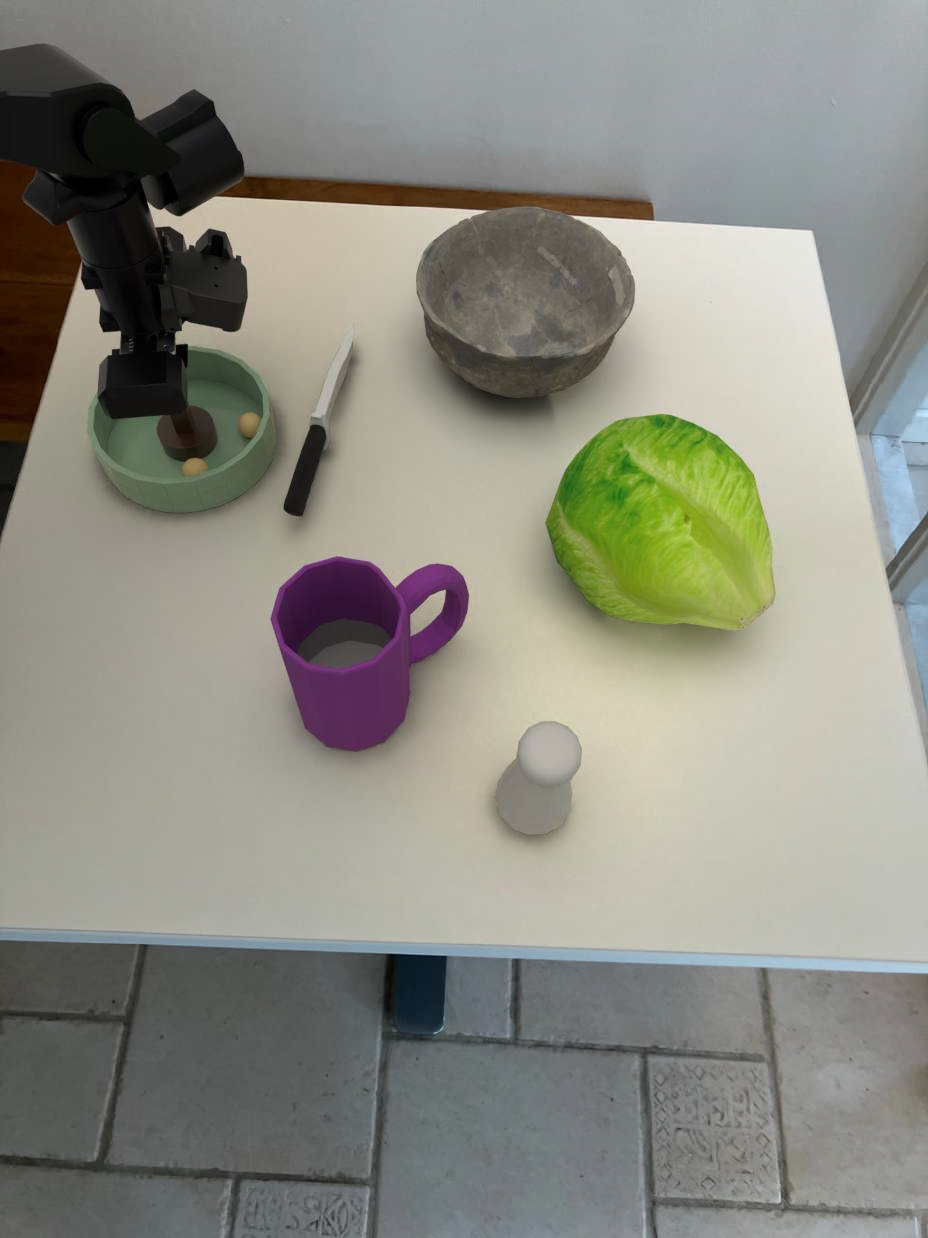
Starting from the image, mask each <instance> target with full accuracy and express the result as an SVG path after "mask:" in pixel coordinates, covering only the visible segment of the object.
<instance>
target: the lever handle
mask: <svg viewBox="0 0 928 1238" xmlns="http://www.w3.org/2000/svg"><path fill="white" fill-rule="evenodd" d="M157 435H158V437H159V440H160V442H161V445H162V447H163V450H164V451H165V453H166V454H167V455H168V456H169V457H171V458H172V459H175V460H177V461H182V462H186V461H187V460H189V459H191V458H199V459H202V458H204V457H206V456H208V455H209V454H210V453H211V452H212V451H213V450H214V448H215V447H216V445H217V441H218V435H217V431H216V428H215V425H214V422H213V419H212V417H211V415H210V414H209V413H208V412H207V411H206V410H204V409H203V408H200V407H197V406H191V405H189V404H188V403H187V409H186V410H184V411H183V412H182V413H181V414H174V415H163V416H162V417H161V418H160V420H159V422H158V424H157Z"/></svg>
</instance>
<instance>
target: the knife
mask: <svg viewBox="0 0 928 1238" xmlns="http://www.w3.org/2000/svg"><path fill="white" fill-rule="evenodd" d="M341 341H342V342H341V344H340V345H339V346H340V347H339V349H338V351H337V353H336V355H335V358H334V359H333V361H332V363H331V364H330V366H329V369H328V372H327V375H326V377H325V381H324V384H323V387H322V389H321V393H320V396H319V399H318V402H317V405H316V408H315V411H314V412H311V415H310V418H309V428H308V431H307V434H306V436H305V439H304V442H303V445H302V448H301V450H300V453H299V456H298V459H297V462H296V464H295V467H294V470H293V474H292V477H291V480H290V483H289V487H288V491H287V493H286V495H285V498H284V501H283V505H282V509H283V511H284V512H285V513H287V514H288V515H290V516H293V517H302V516H304V513H305V511H306V507H307V504H308V499H309V496H310V492H311V490H312V487H313V483H314V480H315V477H316V474H317V471H318V467H319V464H320V461H321V457H322V455H323V452H325V451H327V448H328V445H329V443H330V436H331V429H330V425H329V422H330V417H331V415H332V412H333V409H334V406H335V403H336V401H337V398H338V396H339V393H340V390H341V389H342V385H343V383H344V380H345V377H346V376H347V372H348V370H349V369H348V368H349V365H350V361H351V356H352V351H353V348H354V341H355V322H353V323H352V324H351V326H350V327H349V329H348V330H347V332H346V333H345V334H344V336H343V338H342V340H341Z"/></svg>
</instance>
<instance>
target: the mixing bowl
mask: <svg viewBox="0 0 928 1238" xmlns="http://www.w3.org/2000/svg"><path fill="white" fill-rule="evenodd" d="M186 376H187V382H188V404H189V405H191V406H197V407H200V408H203V409H204V410H206V411H207V412H208V413H209V414H210V415H211V417H212V419H213V422H214V425H215V428H216V431H217V435H218V441H217V445H216V447H215V448H214V450H213V451H212V452H211V453H210V454H209V455H208V456H206V457H204V458H202V460H203V461H205V462H206V464H207V465H208V467H209V471H206V472H203V473H200V474H197V475H194V476H187V477H183V474H182V467H183V465H184V463H185V462H182V461H177V460H175V459H172V458H171V457H169V456H168V455H167V454H166V453H165V451H164V450H163V447H162V445H161V442H160V440H159V437H158V435H157V424H158V422H159V420H160V418H161V417H162V416H163V415H161V416H149V417H137V418H124V419H111V418H109V417H108V416H106V415H105V414H104V411H103V409H102V407H101V405H100V403H99V401H98V399H97V393H98V389H97V390H96V391H95V394H94V396H93V397H92V400H91V402H90V403H89V406H88V408H87V420H86V421H87V422H86V432H87V435H88V437H89V440H90V443H91V446H92V448H93V451H94V452H95V455H96V456H97V459H98V460H99V463H100V464H101V466H102V468H103V470H104V472H105V475H106V476H107V478H108V479H109V481H111V484H113V485H114V487H115V488H116V489H117V490H118V491H119V492H120V493H121V494H122V495H123V496H124V497H126V498H128V499H129V500H130V501H132V502H134V503H135V504H137V505H140V506H142V507H145V508H148V509H151V510H154V511H158V512H164V513H175V514H184V513H185V514H187V513H196V512H202V511H207V510H210V509H214V508H217V507H220V506H223V505H225V504H227V503H229V502H231V501H234V500H235V499H237V498H238V497H239V498H240V496H242V495H244V494H245V493H246V492H248V491H249V490H250V489H251V488H252V487H254V486H255V485H256V484H257V483H258V482H259V481H260V480H261V478H263V476H264V475H265V473H266V472H267V471H268V468H269V467H270V465H271V463H272V461H273V458H274V455H275V452H276V447H277V430H276V421H275V417H274V411H273V407H272V404H271V403H272V402H271V399H270V394H269V391H268V389H267V387H266V386H265V384H264V382H263V380H262V377H261V376H260V374H259V373H258V372H256V371H255V370H254V369H253V368H252V367H251V366H250V365H248V363H246V362H245V361H244V359H242V358H239V357H237V356H235V355H232V354H230V353H228V352H227V351H223V350H222V349H216V348H209V347H203V346H197V345H188V366H187V369H186ZM248 412H253V413H256V414H258V415H259V416H260V417H261V418H262V419H261V422H260V425H259V428H258V430H257V433H256V435H255V436H254V437H253V438H247V437H245V436H244V435H242V434H241V432H240V431H239V428H238V421H239V419H240V417H241V416H242V415H243V414H245V413H248Z"/></svg>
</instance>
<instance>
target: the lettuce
mask: <svg viewBox="0 0 928 1238" xmlns="http://www.w3.org/2000/svg"><path fill="white" fill-rule="evenodd" d="M544 524H545V526H546V530H547V534H548V537H549V540H550V544H551V547H552V550H553V553H554V556H555V557H554V558H555V560H556V563H557V564H558V565H559V566H560V568H561V569H562V570H563V571H564V572H565V573H566V574H567V576H568V577H569V579H571V580H572V582H573V583H574V584H575V586H576V587H577V588H578V589H579V591H580V593H582V595H583V596H584V597H585V599H586V601H588V602H589V603H590V604H592V605H593V606H594V607H595V608H597V609H599V610H601V612H603V613H604V614H606V615H608V616H610V617H614V618H619V619H623V620H627V621H631V622H636V623H644V624H645V623H646V624H656V625H676V624H690V625H696V626H702V627H709V628H714V629H722V630H728V631H741V630H746V629H747V628H748V627H750V626H751V625H752V624H753V623H754V622H755V621H756V620H757V619H759V618H760V617H761V616H762V615H763V614H764V613H765V612H766V611H768V610H769V609H770V608H771V607H772V606H773V605H774V604H775V598H776V587H775V580H774V579H775V578H774V573H773V572H774V571H773V551H774V550H773V549H774V548H773V543H772V538H771V533H770V529H769V524H768V521H767V518H766V515H765V512H764V509H763V505H762V501H761V497H760V493H759V490H758V485H757V480H756V476H755V474H754V473H753V471H752V470H751V469H750V467H749V466H748V465H747V463H746V462H745V460H744V459H743V458H742V457H741V456H740V455H739V454H738V453H737V452H736V451H735V450H734V449H732V448H731V447H730V445H728V443H726V442H725V441H724V440H723V439H722V438H720V437H719V436H718V435H717V434H715V433H713V432H711V431H709V430H708V429H706V428H704V427H702V426H700V425H698V424H696V423H694V422H692V421H689V420H686V419H684V418H680V417H678V416H675V415H672V414H667V413H657V414H649V415H641V416H634V417H625V418H620V419H618V420H615V421H613V422H612V423H610V424H608V425H607V426H605V427H603V428H602V429H601V430H600V431H599V432H597V434H596V435H594V436H593V437H592V438H591V439H589V440H588V442H586V444H585V445H584V446H583V447H582V448H580V450H579V451H578V452H577V453H576V454H575V456H574V457H573V459H572V460H571V461H570V463H569V464H568V465H567V467H566V468H565V470H564V471H563V475H562V477H561V479H560V481H559V484H558V487H557V490H556V493H555V495H554V498H553V501H552V503H551V506H550V509H549V511H548V513H547V517H546V520H545V523H544Z"/></svg>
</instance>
